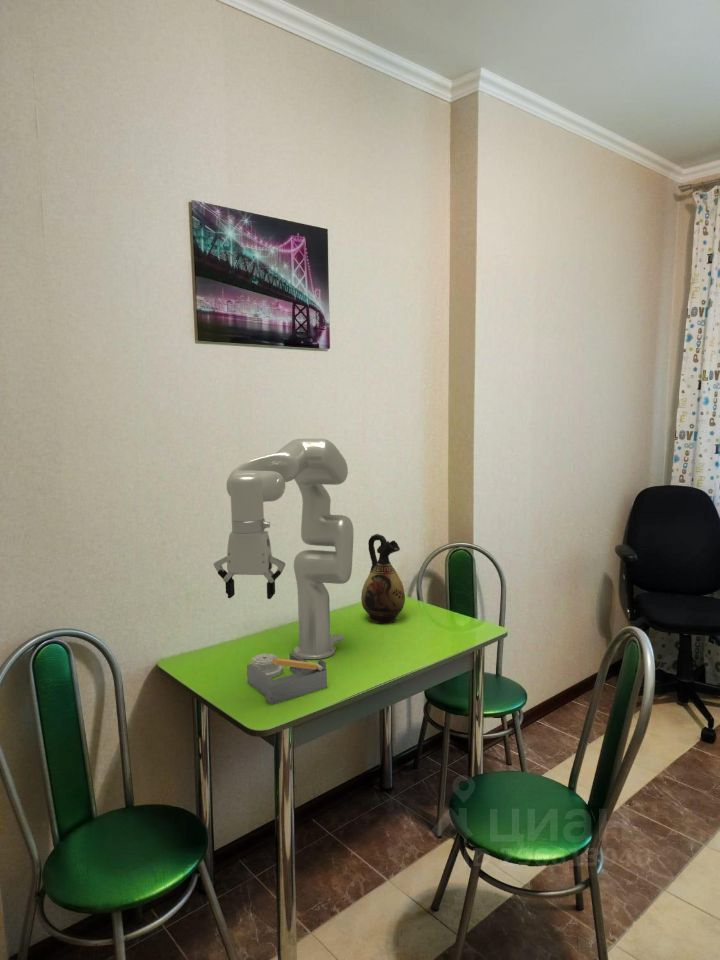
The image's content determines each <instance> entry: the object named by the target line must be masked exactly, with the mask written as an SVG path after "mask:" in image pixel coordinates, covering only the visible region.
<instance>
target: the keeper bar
mask: <svg viewBox="0 0 720 960" xmlns="http://www.w3.org/2000/svg"><path fill="white" fill-rule="evenodd" d="M272 663H274V664H275V665H280V666H283V667H289V668H290V667H297V668H305V669H314V670H316V669H318V670H320V671H321V670H322V669H323V667H322V666H321V665H319V664H318V662H310V661H308V662H303V661H296V660H290V659H286V658H279V657H278V658H273V661H272Z"/></svg>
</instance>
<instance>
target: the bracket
mask: <svg viewBox="0 0 720 960" xmlns="http://www.w3.org/2000/svg"><path fill="white" fill-rule="evenodd" d="M289 660H296V661H303V662H309V661H308V660H307V659H304V658H301V657H300V656H298V655H296V654H295V653H294V652H291V653H289ZM317 664H319V665H321V666H322V667H323V669H322V670H321V671H320V670H318V669H316V670H314V669H305V668H297V667H289V671H290V672H291V673H292V674H289V675H285V676H282V677H278V678H276V679H275V678H274V679H273V678H270V677H269V676H267V675H266V674H265V673H263V672H262V671H260V670H259V669H257V668H256V667H255V666H253V665H252V664H251V663H250V664H249V663H248V664H247V665H246V676H247V679H246V681H247V684H249V685H250V686H251V687H252V688H254V689H255V690H257V691H258V692H259V693H261V694H262V695H264V697H265V701H266V702H267V703H268V704H269V705H271V706H273V704H274V705H276V703H277V704H280V703H282V701H283V702H286V701H289V700H292V699H291V698H293V699H295V697H296V698H299V697H302V696H305V695H308V694H307V693H309V694H311V693H310V692H312V693H314V692H313V691H315V692H318V691H320V689H321V690H324V689H323V688H325V689H327V688H328V672H327V671H328V670H327V662H326V661H324V660H321V659H318V661H317ZM326 687H327V688H326ZM317 690H318V691H317ZM304 694H305V695H304ZM301 695H302V696H301ZM298 696H299V697H298ZM288 699H289V700H288ZM285 700H286V701H285ZM279 702H280V703H279Z"/></svg>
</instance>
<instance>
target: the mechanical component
mask: <svg viewBox="0 0 720 960" xmlns="http://www.w3.org/2000/svg"><path fill="white" fill-rule="evenodd" d="M273 658H279V656H278V655H276V654H271V653H260V654H256V656H252V658H251V659H250V661H251V662H250V664H252V665H253V666H255V667H256V668H257V669H259V670H260V671H262V672H263V673H265V674H266V675H267V676H269V677H270V678H272V679H273V678H276V677H278V676H280V675H282V673H283V670H284V668H283V667H284V666H280V665H275V664H274V663H272V661H273Z"/></svg>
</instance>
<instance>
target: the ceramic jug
mask: <svg viewBox="0 0 720 960" xmlns="http://www.w3.org/2000/svg"><path fill="white" fill-rule="evenodd" d="M376 541H380V545H379V546H378V548H377V549H376V550H375V542H376ZM367 544H368V552H369V556H370V557H369V558H370V561H371V566H370V571H369V574H368V576H367V577H366V579H365V581H364V584H363V586H362V589H361V597H360V599H361V605H362V607H363V609H364V611H365V612H366V614H368V619H369V621H371V622H373V623H375V624H379V625H383V624H384V625H385V624H387V625H389V624H393V623H395V622H396V621H397V620H396V618H397V617H398V615H399V614H400V613H401V612H402V610H403V609H404V606H405V604H406V603H405V602H406V595H405V590H404V585H403V582H402V580H401V578H400V576H399V574H398V573H397V571H396V569H395V568H394V567H393V565H392V563H391V562H390V557H389V556H390V555H391V554H393V553H397V552H399V551H401V548H400V546H399V543H398V542H397V541H395V540H392V541H390V540H388V541H387V539H386V537H385V535H382V534H379V533H375V534H374V535H373V534H372V535H371V536H370V538H369V539H368V543H367ZM376 552H377V554H379V556H378V557H379V558H377V555H376ZM395 620H396V621H395Z"/></svg>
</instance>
